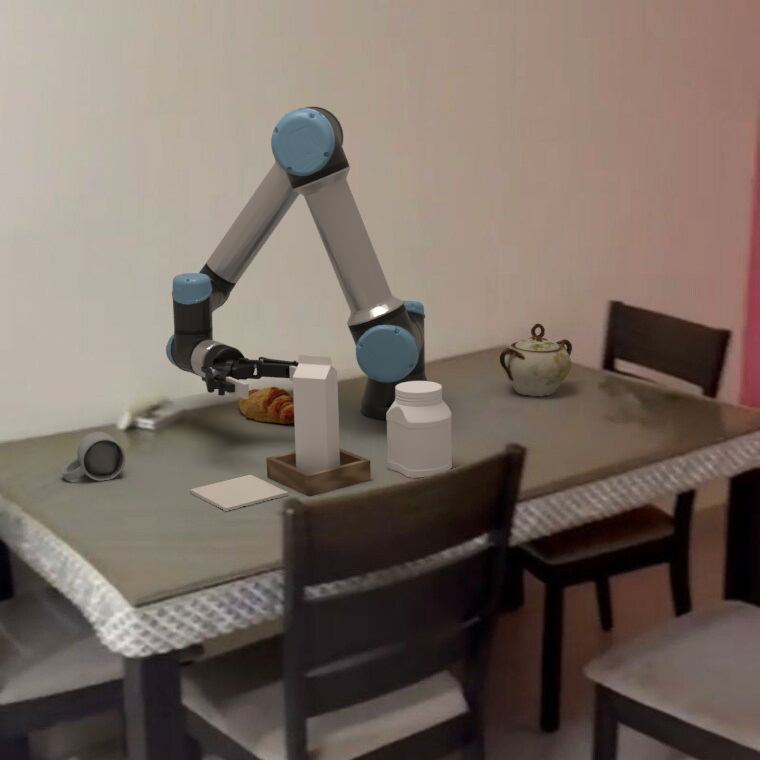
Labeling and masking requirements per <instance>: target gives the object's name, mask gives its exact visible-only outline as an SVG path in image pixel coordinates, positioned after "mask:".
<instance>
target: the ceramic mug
mask: <svg viewBox="0 0 760 760" xmlns="http://www.w3.org/2000/svg"><path fill="white" fill-rule="evenodd" d="M76 453H77V455H76V456H77V458H76V459H74V460H72V461H71V462H69V463H68V464H67V465H65V466H64V467H63V468H62V470H61V475H62V476H63V478H64V480H65V481H73V480H77V479H78V478H80V477H82V476H85V475H86V476H87V477H89V478H90V479H91V480H93V481H97V482H104V481H103V480H108V481H110V479H111V480H114V479H115V478H116V477H117V476H119V474H121V472H122V471H123V469H124V467H125V463H126V453H125V450H124V448H123V446H122V445H121V444H120V442H118V441H117V440H116V439H115V438H114V437H113V436H111V435H110V434H108V433H106V432H103V431H102V432H101V431H94V432H91V433H89V434H87V435H85V436H84V437H83V438H82V439H81V440H80V441H79V444H78V446H77V450H76Z"/></svg>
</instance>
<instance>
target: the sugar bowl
mask: <svg viewBox="0 0 760 760" xmlns="http://www.w3.org/2000/svg"><path fill="white" fill-rule="evenodd" d="M538 328H539V329H540V333H539V334H536V330H537V329H538ZM545 329H546V328H545V327H544V325H543V324H542V323H535V324H534V325H533V326H532V327H531V329H530V334H531V336H530V337H529V338H525V339H521V340H519V341H515V342H513V343H511V345H509V347H505V349H503V350H502V351H501V353H500V356H499V362H500V365H501V368H502V371H503V373H504V375H505V376H506V378H507V379H508V381H509V382H510V384H511V386H512V387H513V389H514V391H515V392H516V393H517V394H520V395H521V396H522V395H523V396H526V395H530V396H529V397H535V396H540V397H544V396H543V395H548V394H551V395H553V394H554V393H555V392H556V390H557V389H559V387H560V385H561V384H562V383H563V382H564V381H565V380H566V378H567V376H568V375H569V373H570V371H571V369H572V360H571V357H570V356H571V355H572V351H573V344H572V342H571V341H570V340H568V339H567V338H566V339H565V338H564V339H561V340H558V341H556V342H555V341H553V340H550V339H548V338H544V337H545V334H546V333H545V332H546V330H545ZM552 393H553V394H552ZM541 395H542V396H541ZM548 396H549V395H548Z"/></svg>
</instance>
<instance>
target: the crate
mask: <svg viewBox="0 0 760 760" xmlns="http://www.w3.org/2000/svg"><path fill="white" fill-rule="evenodd" d="M371 469H372V468H371V460H370V459H368V458H365V457H363V456H360V455H357V454H355V453H353V452H351V451H347V450H345V449H342V448H340V466H337V467H334V468H330V469H326V470H322V471H318V472H314V473H307V472H305V471H303V470H300V469H298V468H296V450H294V451H290V452H289V451H288V452H286V453H282V454H281V453H280V454H278V455H273V456H269V457H266V477H267V478H269V479H271V480H274V481H275V482H278V483H280V484H282V485H284V486H286V487H289V488H290V489H292V490H295V491H296V492H299V493H301V494H303V495H305V496H308V497H310V496H314V495H318V494H321V493H322V494H323V493H325V492H329V491H333V490H337V489H340V488H344V487H348V486H353V485H356V484H360V483H363V482H367V481H370V480H371V479H372V478H371V477H372V474H371V473H372V472H371V471H372V470H371Z"/></svg>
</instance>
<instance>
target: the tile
mask: <svg viewBox="0 0 760 760" xmlns="http://www.w3.org/2000/svg"><path fill="white" fill-rule="evenodd" d="M189 493H190V494H191V495H193V496H195V497H197V498H199V499H201V500H203V501H205V502H207V503H209V502H210V503H211V505H212V504H213V506H214V505H215V507H216V506H217V507H216V508H218V507H219V508H218V509H220V508H221V509H220V510H222V509H223V510H222V511H224V512H226V511H227V512H230V511H229V510H231V511H233V510H232V509H235V508H238V507H242V506H245V505H248V504H254V503H257V502H261V503H263V502H262V501H265V502H267V501H266V500H269V501H271V499H273V500H276V498H277V499H280V498H284V497H287V496H289V492H288V491H286V490H285V489H282V488H280V487H278V486H276V485H273V484H271V483H270V482H268V481H265V480H263V479H261V478H259V477H257V476H254V475H252V474H247V475H244V476H239V477H235V478H232V479H227V480H223V481H219V482H215V483H211V484H206V485H203V486H202V485H201V486H198V487H194V488H190V489H189ZM210 503H209V504H210ZM254 505H255V504H254ZM242 508H243V507H242ZM235 510H236V509H235Z"/></svg>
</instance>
